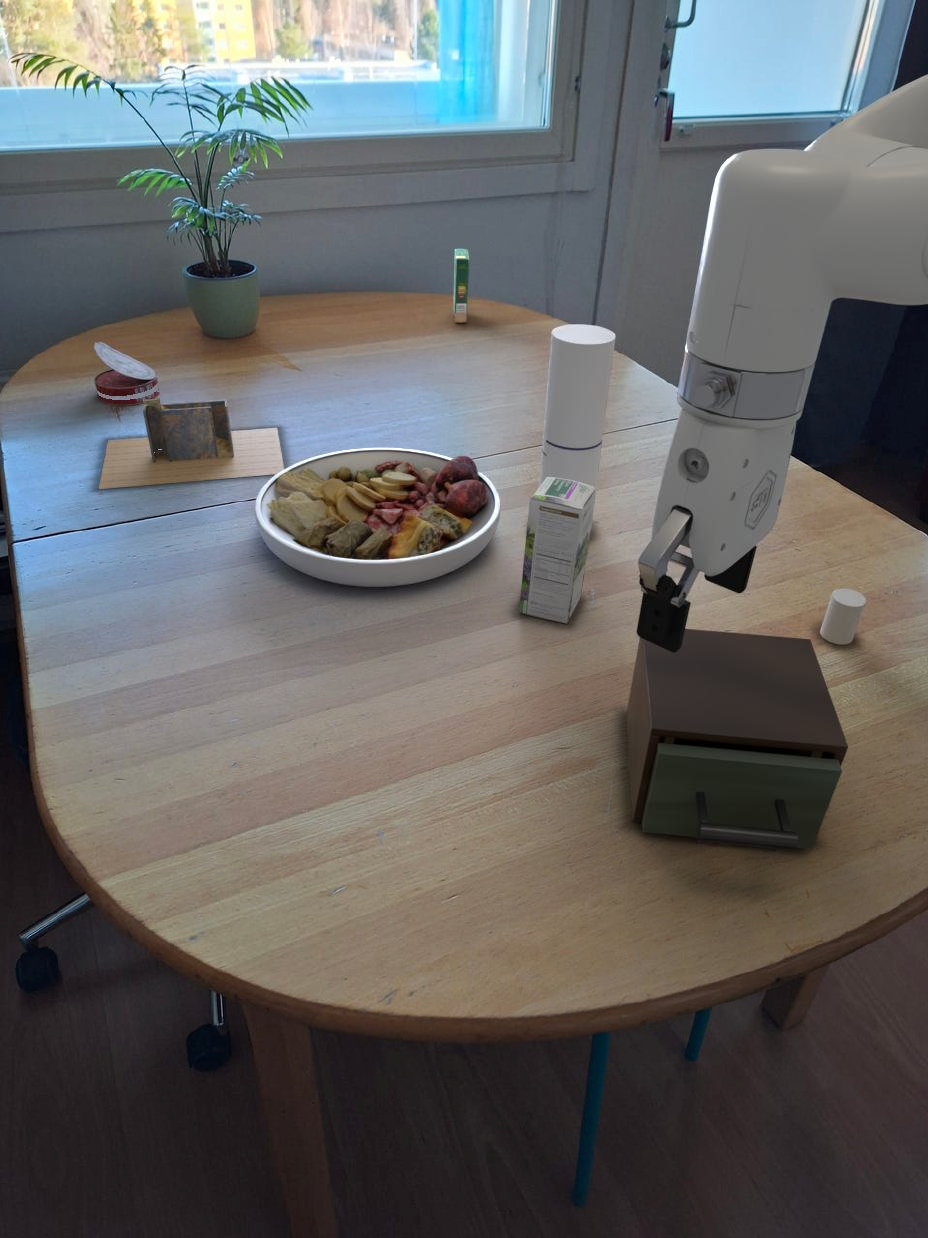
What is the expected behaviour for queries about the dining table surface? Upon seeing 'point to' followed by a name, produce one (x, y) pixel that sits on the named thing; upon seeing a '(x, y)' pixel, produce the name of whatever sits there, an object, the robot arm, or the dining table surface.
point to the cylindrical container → (576, 402)
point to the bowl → (378, 515)
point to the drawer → (739, 793)
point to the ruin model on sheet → (190, 448)
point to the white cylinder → (842, 616)
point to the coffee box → (461, 280)
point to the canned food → (123, 377)
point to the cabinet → (728, 699)
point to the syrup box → (556, 548)
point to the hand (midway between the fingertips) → (692, 612)
